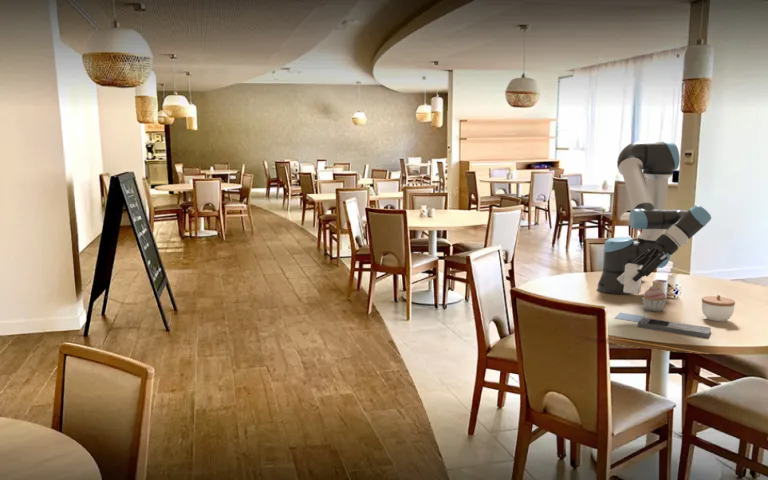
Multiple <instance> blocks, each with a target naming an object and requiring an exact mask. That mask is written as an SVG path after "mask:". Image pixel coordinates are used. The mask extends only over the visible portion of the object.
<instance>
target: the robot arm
mask: <svg viewBox="0 0 768 480" xmlns="http://www.w3.org/2000/svg"><path fill="white" fill-rule="evenodd" d="M617 157H618V158H617V161H616V162H617V163H616V164H617V165H616V166H617V170H618V173H619V174H620V175H621V176H622V177H623V178H622V179H623V182H624V184H625V187H626V192H627V193H628V198H629V201H630V204H631V208H632V209H631V210H630V212H629V218H628V219H629V225H630V227H631V228H632V229H636V230H641V233H639V234H638V236H637V239H636V240H634V238H633V237H630V236H617V237H612V238H608V239H607V240H605V242H604V246H603V259H602V261H603V262H602V273H601V276H600V277H599V280H598V283H597V291H599V292H601V293H606V294H612V295H631V294H632V293H626V292H623V290H624V285H625V286H626V287H627V288H628V289H629V288H631V287H632V286H633V285H634V284H635V283H636V282H637V281H639V280H640V279H641V278H644V277H649V275H651V274H652V273H653V272H654V271H655V270H656V269H663V268H664V267H666V266H667V265H668V264H669V262H670V259H671V255H673V254H674V253H676V252H677V251H678V250H679V248H681V247H682V246H683V245H687V242H688V241H689V240H690V239H691V238H693V236H695V235H696V234H697V233H698V232H699V231H701V229H703V228H704V227H705V226H707V224H708V223H709V222H710V221H711V219H712V215H711V214H710V213H709V212H708V210H706V209H705V208H704V207H703V206H701V205H699V204H695V205H693V206H692V207H691V208H689V210H687V209H683V208H676V209H666V208H667V199H668V198H667V197H668V188H669V180H670V177H671V176H673V174H674V171H677V170H678V168H679V166H680V162H681V161H680V152H679V149H678V146H677V144H676V143H674V142H672V141H633V142H632V143H630V144H627V145H626V146H625V147H624V148H623V149H621V151H620V153H619V155H618V156H617ZM628 263H630V264H640V265H642V268H641V269H637V271H636V272H635V273H634V274H633V275H632V276H631V277H630V278H629V279H627V280H626V281H625V282H624V273H625V265H626V264H628ZM641 280H642V279H641Z"/></svg>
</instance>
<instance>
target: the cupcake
mask: <svg viewBox="0 0 768 480" xmlns="http://www.w3.org/2000/svg"><path fill="white" fill-rule="evenodd" d="M643 294H644V295H642V296H641V300H642V301H643V306H644V309H645V310H646V311H649V312H652V313H656V312H659V313H660V312H662V311H663V309H664V307H665V303H666V302H667V300H668V298H666V297H667V296H666V293H665V292H664V291H663V290H662V289H661V288H659V287H658V286H657V284H654V285H652V286H650V287H648V289H646V290H645V292H644V293H643Z"/></svg>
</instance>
